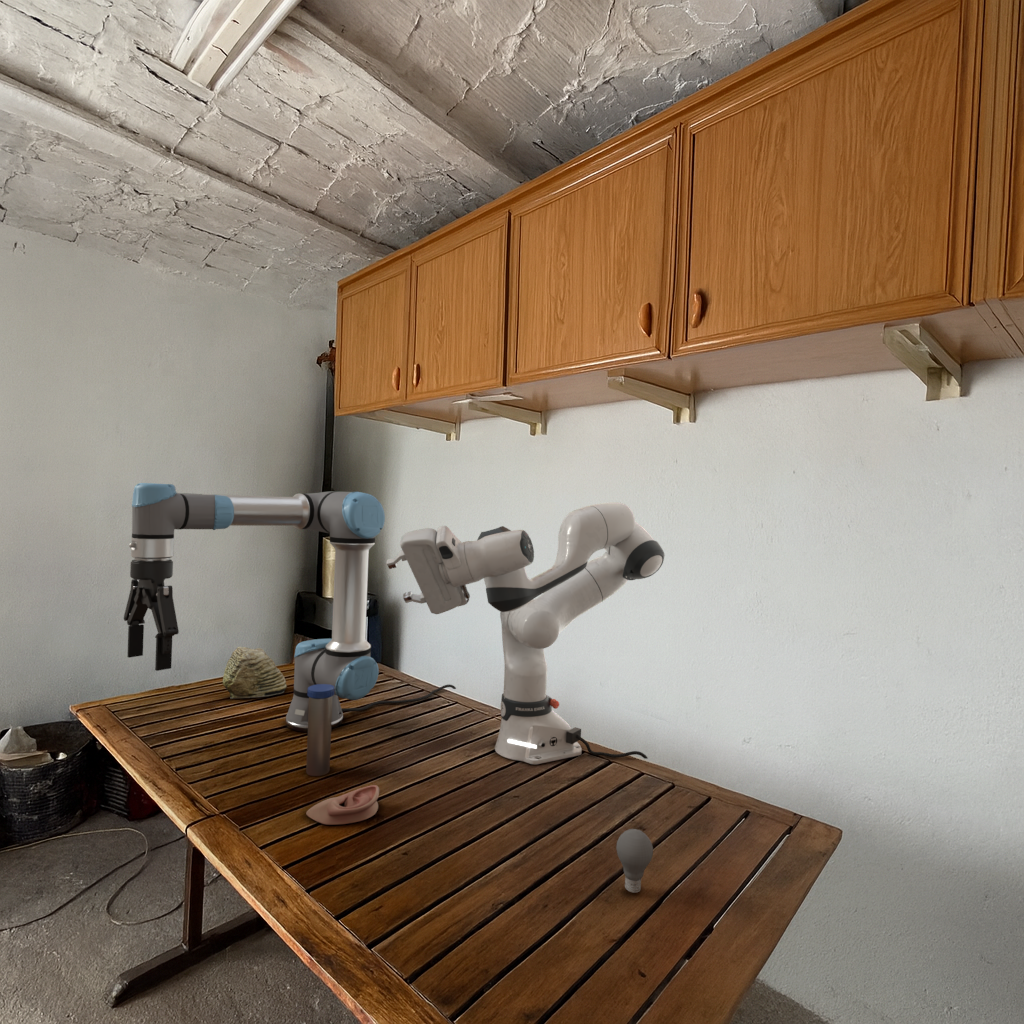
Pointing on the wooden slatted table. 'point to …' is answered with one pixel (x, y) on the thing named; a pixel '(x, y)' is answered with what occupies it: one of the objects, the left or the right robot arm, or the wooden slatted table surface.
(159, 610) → the left robot arm
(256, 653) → the fossil
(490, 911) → the wooden slatted table surface
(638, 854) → the light bulb
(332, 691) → the lid
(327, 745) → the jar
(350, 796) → the anatomical model
